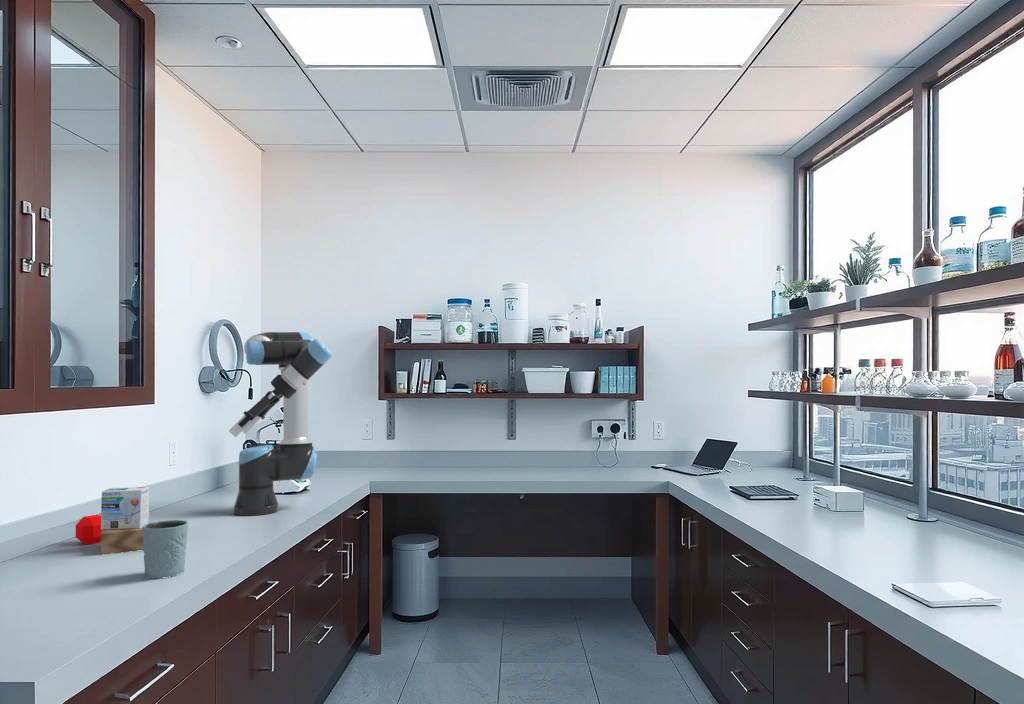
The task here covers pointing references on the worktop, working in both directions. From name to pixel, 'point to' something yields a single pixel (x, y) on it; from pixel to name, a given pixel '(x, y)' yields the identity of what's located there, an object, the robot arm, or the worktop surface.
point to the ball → (89, 529)
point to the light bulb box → (125, 508)
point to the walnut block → (121, 540)
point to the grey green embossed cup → (164, 548)
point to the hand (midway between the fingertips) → (237, 432)
